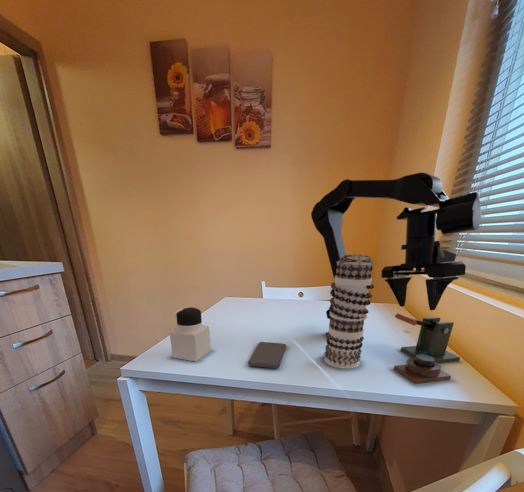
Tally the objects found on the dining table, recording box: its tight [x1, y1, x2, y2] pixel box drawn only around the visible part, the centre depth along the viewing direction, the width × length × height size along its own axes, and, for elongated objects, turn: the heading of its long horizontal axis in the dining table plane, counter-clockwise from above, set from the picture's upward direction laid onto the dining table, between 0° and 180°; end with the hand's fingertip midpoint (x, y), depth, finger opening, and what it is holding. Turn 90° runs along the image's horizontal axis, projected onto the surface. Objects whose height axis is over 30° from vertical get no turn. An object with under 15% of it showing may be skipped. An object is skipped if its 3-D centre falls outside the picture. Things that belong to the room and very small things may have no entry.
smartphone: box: [247, 341, 287, 369], centre depth 71 cm, size 8×1×15 cm
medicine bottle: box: [169, 306, 212, 363], centre depth 69 cm, size 7×7×12 cm
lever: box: [394, 313, 437, 332], centre depth 68 cm, size 12×6×2 cm, turn 104°
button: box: [414, 354, 435, 368], centre depth 61 cm, size 4×4×2 cm
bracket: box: [400, 316, 461, 364], centre depth 71 cm, size 10×9×10 cm
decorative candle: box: [324, 254, 376, 369], centre depth 64 cm, size 9×9×25 cm
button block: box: [393, 357, 452, 385], centre depth 62 cm, size 9×7×3 cm
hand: (416, 308), depth 66 cm, fingers open, 9 cm apart
